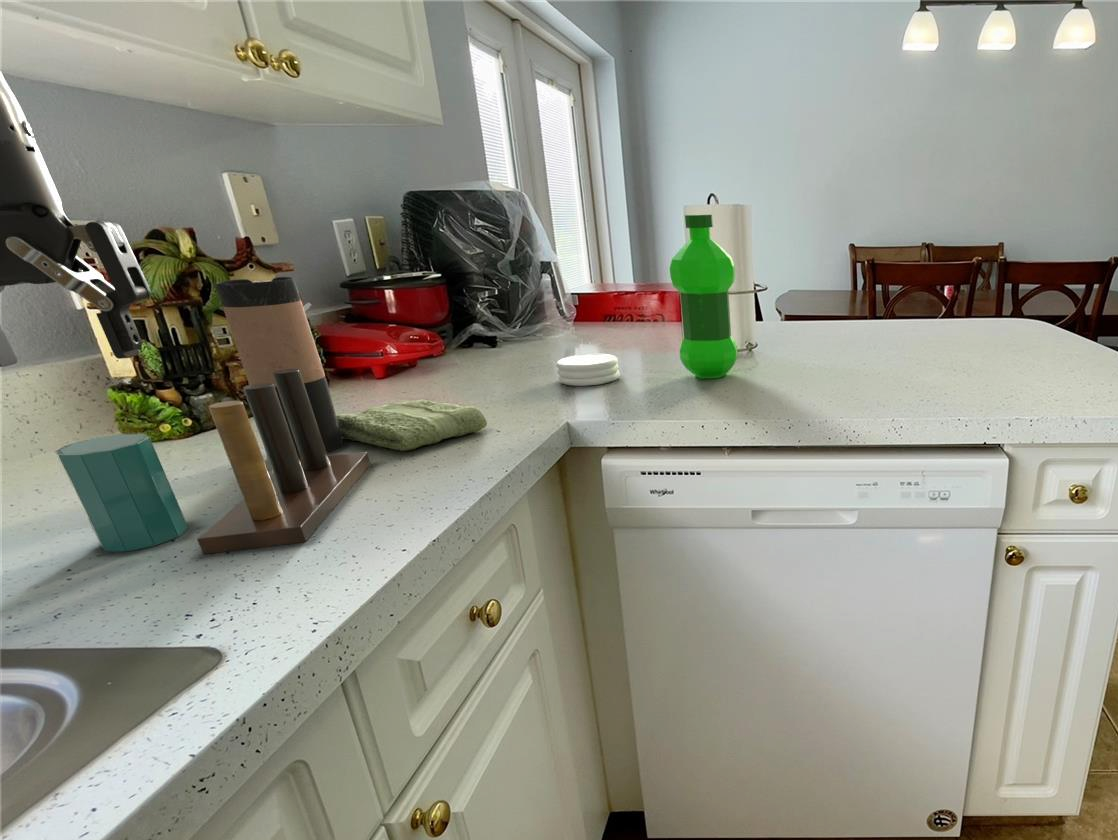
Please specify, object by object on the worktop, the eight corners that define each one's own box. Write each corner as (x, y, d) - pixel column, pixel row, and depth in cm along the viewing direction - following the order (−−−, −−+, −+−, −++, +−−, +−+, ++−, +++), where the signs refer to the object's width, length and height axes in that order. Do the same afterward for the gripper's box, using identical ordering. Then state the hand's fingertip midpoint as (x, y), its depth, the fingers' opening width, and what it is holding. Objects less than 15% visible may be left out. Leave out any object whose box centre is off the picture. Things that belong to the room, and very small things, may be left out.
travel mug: (305, 461, 84) (245, 284, 76) (259, 456, 87) (196, 283, 78) (360, 442, 91) (310, 277, 82) (316, 437, 93) (263, 276, 85)
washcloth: (421, 412, 103) (415, 390, 102) (496, 430, 94) (490, 406, 93) (326, 436, 93) (319, 412, 92) (400, 458, 85) (393, 432, 83)
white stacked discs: (587, 371, 126) (584, 351, 125) (632, 375, 122) (629, 355, 121) (546, 383, 118) (542, 362, 117) (592, 389, 114) (589, 367, 113)
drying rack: (203, 554, 62) (145, 420, 57) (294, 471, 81) (257, 366, 76) (306, 542, 64) (259, 411, 59) (371, 463, 83) (340, 360, 78)
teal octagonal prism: (86, 556, 62) (37, 458, 58) (126, 527, 68) (84, 437, 64) (166, 546, 63) (123, 451, 60) (199, 519, 69) (162, 430, 65)
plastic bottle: (695, 367, 127) (682, 214, 116) (750, 370, 124) (742, 213, 113) (669, 380, 119) (652, 216, 108) (727, 383, 115) (716, 215, 105)
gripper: (-212, 135, 47) (-76, 378, 54) (47, 132, 50) (144, 362, 57) (-114, 144, 54) (-4, 360, 61) (109, 141, 57) (189, 346, 64)
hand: (68, 361), depth 59 cm, fingers open, 8 cm apart
